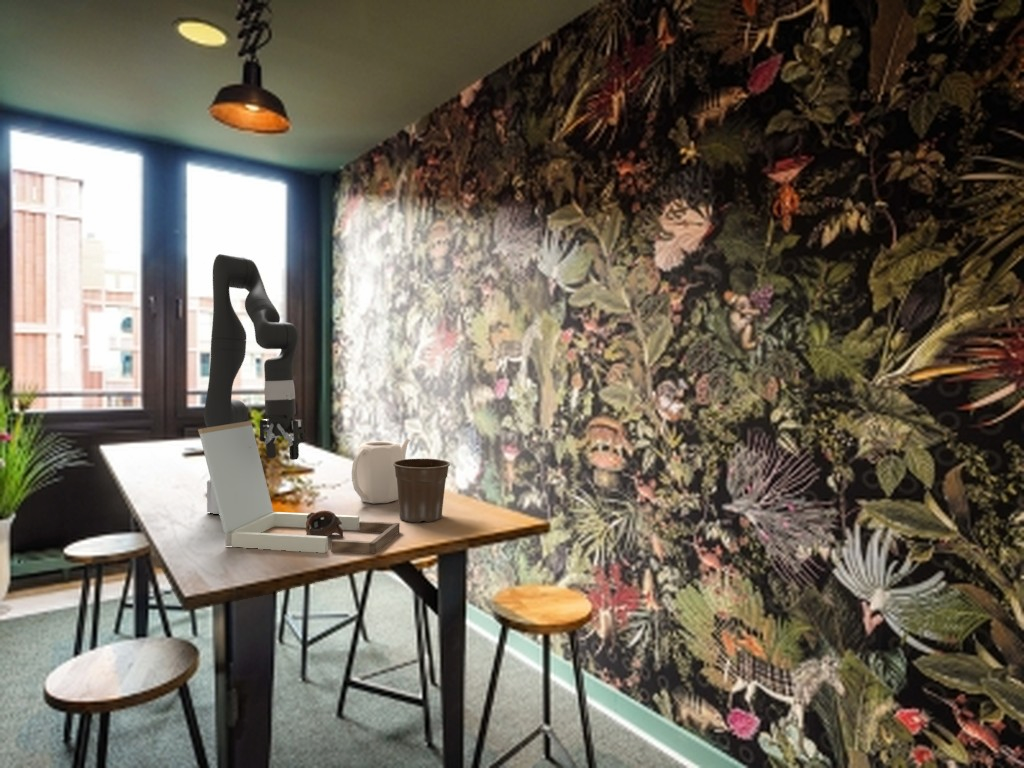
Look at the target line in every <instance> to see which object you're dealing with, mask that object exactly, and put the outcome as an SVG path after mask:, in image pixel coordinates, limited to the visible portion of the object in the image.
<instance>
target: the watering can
mask: <svg viewBox="0 0 1024 768" xmlns="http://www.w3.org/2000/svg"><path fill="white" fill-rule="evenodd" d="M409 443H410V439H408V438H405V439H404V441H403V443H402V445H400V444H399V443H397V442H396V441H390V440H383V441H382V440H379V441H378V440H377V441H375V440H374V441H366V442H363V443H361V444H360V445H359V446H358V448H357V449H358V450H357V453H356V454H355V455H354V458H353V462H352V467H351V482H352V486H353V490H354V491H355V492H356V494H357V495H358V497H359V498H360V500H361V502H363V503H368V504H373V505H375V504H388V503H392V502H395V501H398V487H397V478H396V474H395V466H394V465H393V463H394V462H395V461H399V460H404V459H406V454H407V449H408V448H407V447H408V445H409Z"/></svg>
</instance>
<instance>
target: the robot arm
mask: <svg viewBox="0 0 1024 768" xmlns="http://www.w3.org/2000/svg"><path fill="white" fill-rule="evenodd" d="M213 260H214V261H213V264H212V297H213V298H212V299H213V301H212V302H213V304H212V305H213V307H212V308H213V310H212V327H211V336H210V338H211V339H210V340H211V341H210V362H209V363H210V364H209V373H208V374H209V376H208V378H209V379H208V386H207V392H206V397H205V403H204V411H203V417H204V418H203V419H204V424H205V425H206V428H208V427H215V426H221V425H227V424H234V423H240V422H246V421H250V420H249V411H248V408H247V406H246V404H245V403H244V402H243V401H241V400H239V399H232V395H233V393H232V391H233V386H234V382H235V379H236V377H237V376H238V373H239V371H240V369H241V367H242V366H243V363H244V360H245V358H246V350H247V333H246V330H245V329H246V328H245V327H244V325H243V323H242V321H241V319H239V317H238V315H237V313H236V311H235V309H234V307H233V305H232V301H231V295H230V288H234V289H242V290H243V289H245V290H246V291H247V292H248V294H247V296H246V298H245V300H244V309H245V312H246V314H247V315H248V317H249V319H250V321H251V322H252V324H253V328H254V329H253V330H254V337H255V342H256V343H257V345H258V346H259V347H260V348H262V349H265V350H281V351H280V352H279V355H278V356H276V357H271V358H268V359H266V360H265V361H264V364H263V366H264V367H263V369H264V371H263V372H264V389H263V390H264V406H265V407H264V408H265V409H264V412H265V416H266V417H268V418H266V419H259V441H260V443H262V442H263V443H264V444H265V445H266V457H267V458H268V459H274V458H276V457H277V453H276V452H277V451H276V450H277V449H276V440H277V439H278V438H279V437H283V438H284V439H285V440H287V442H288V443H289V447H288V448H289V452H288V453H289V460H290V461H293V460H298V459H299V456H300V454H299V453H300V451H299V450H300V449H299V445H300V444H301V443H305V439H306V438H305V428H304V427H305V426H304V421H303V419H295V418H294V416H295V415H296V413H297V410H296V408H297V407H296V393H295V392H296V391H295V389H296V388H295V384H294V369H293V367H294V366H293V365H294V359H295V353H296V350H297V346H298V341H299V331H298V329H297V327H296V326H295V325H294V324H293V323H292V322H291V323H290V322H280V320H281V316H280V313H279V312H278V310H277V309H276V307H275V306H274V304H273V302H272V301H271V299H270V297H269V296H268V294H267V290H266V289H265V285H264V282H263V279H262V277H261V273H260V270H259V268H258V267H257V264H256V263H255V261H253V260H252V259H251V258H248V257H244V256H239V255H233V254H227V253H219V254H217V255H216V256H215V258H214V259H213ZM207 512H210V513H213V514H219V510H218V506H217V502H216V498H215V494H214V490H213V486H212V482H211V478H209V480H207V481H206V513H207ZM210 513H209V514H210ZM213 514H212V515H213Z"/></svg>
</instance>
